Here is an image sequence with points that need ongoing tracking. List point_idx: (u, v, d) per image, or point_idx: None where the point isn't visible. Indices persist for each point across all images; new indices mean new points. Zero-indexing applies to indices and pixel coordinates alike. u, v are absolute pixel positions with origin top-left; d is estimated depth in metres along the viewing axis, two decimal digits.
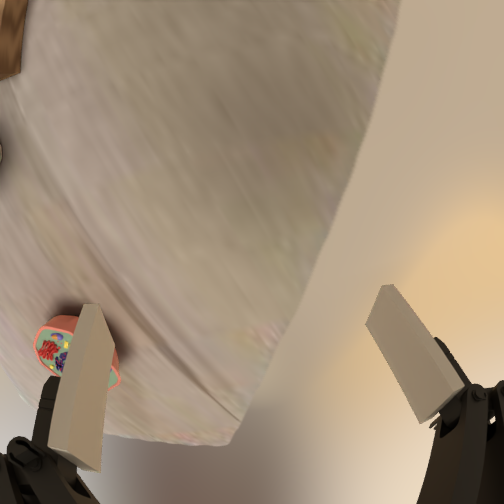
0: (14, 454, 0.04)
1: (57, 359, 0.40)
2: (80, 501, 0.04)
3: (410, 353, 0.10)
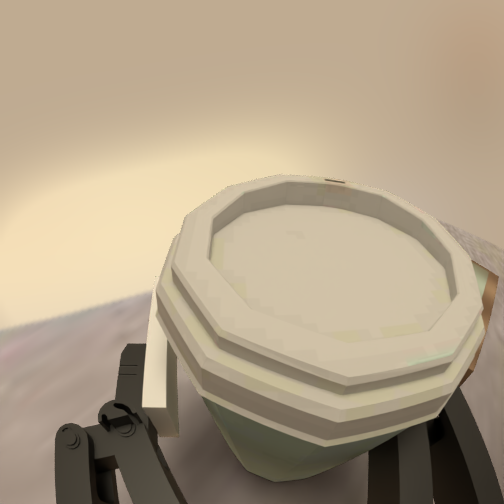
0: (108, 417, 0.06)
1: None
2: (166, 473, 0.06)
3: None
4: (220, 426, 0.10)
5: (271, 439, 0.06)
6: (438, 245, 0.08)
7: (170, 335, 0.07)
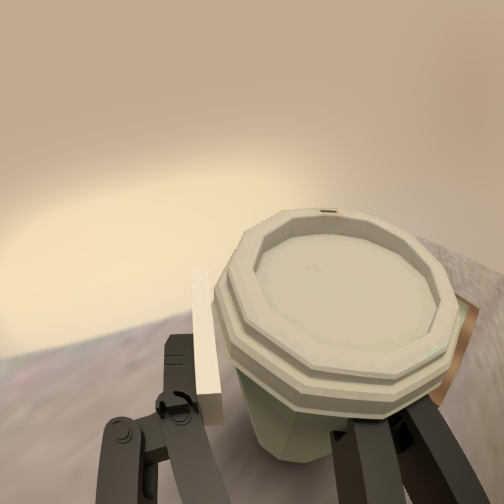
0: (166, 404, 0.07)
1: None
2: None
3: None
4: (269, 428, 0.11)
5: (334, 426, 0.08)
6: (419, 260, 0.11)
7: (252, 373, 0.08)
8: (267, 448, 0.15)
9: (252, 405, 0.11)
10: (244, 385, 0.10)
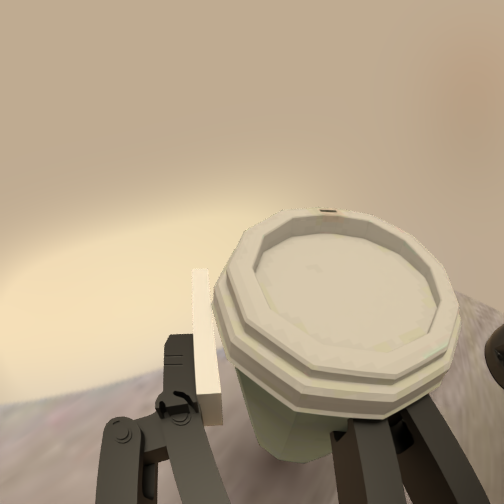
0: (166, 404, 0.07)
1: None
2: None
3: None
4: (268, 428, 0.11)
5: (334, 426, 0.08)
6: (419, 260, 0.11)
7: (251, 373, 0.08)
8: (267, 448, 0.15)
9: (252, 405, 0.11)
10: (244, 385, 0.10)
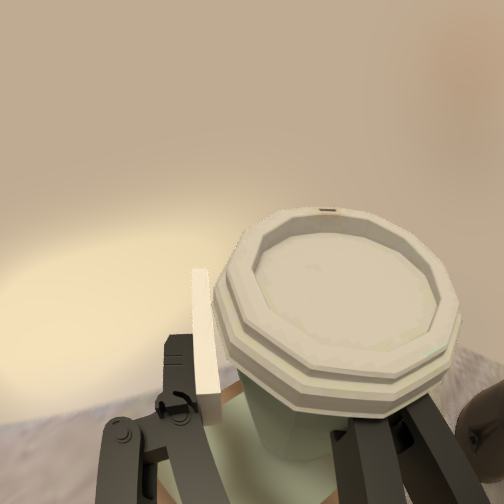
0: (166, 404, 0.07)
1: None
2: None
3: None
4: (270, 428, 0.12)
5: (334, 425, 0.08)
6: (419, 258, 0.11)
7: (251, 373, 0.08)
8: (269, 447, 0.15)
9: (253, 405, 0.11)
10: (244, 385, 0.10)
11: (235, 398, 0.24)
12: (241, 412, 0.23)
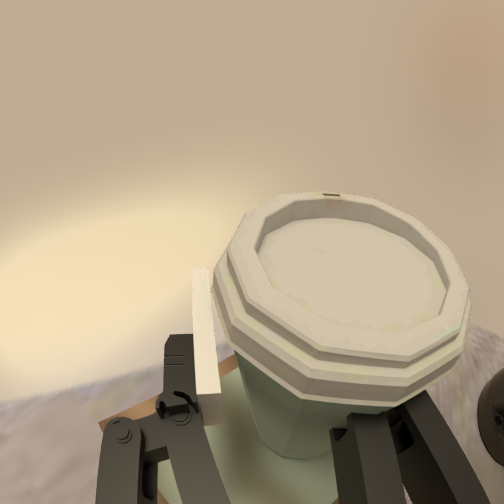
0: (166, 404, 0.07)
1: None
2: None
3: None
4: (271, 422, 0.11)
5: (342, 416, 0.08)
6: (426, 244, 0.11)
7: (254, 358, 0.08)
8: (269, 444, 0.15)
9: (254, 396, 0.11)
10: (245, 374, 0.10)
11: (236, 370, 0.21)
12: (243, 386, 0.20)
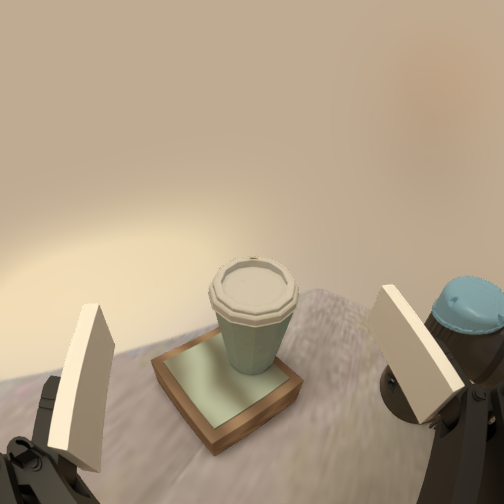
0: (14, 454, 0.04)
1: None
2: (80, 501, 0.04)
3: (410, 353, 0.10)
4: (229, 342, 0.34)
5: (245, 333, 0.31)
6: (285, 279, 0.33)
7: (219, 312, 0.31)
8: (233, 363, 0.37)
9: (222, 330, 0.33)
10: (218, 320, 0.32)
11: (220, 333, 0.44)
12: None
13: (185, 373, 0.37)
